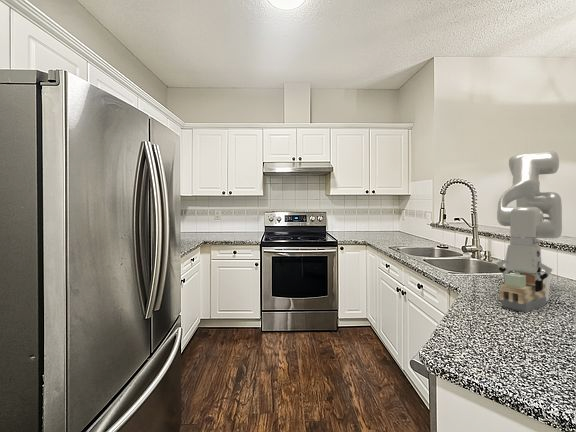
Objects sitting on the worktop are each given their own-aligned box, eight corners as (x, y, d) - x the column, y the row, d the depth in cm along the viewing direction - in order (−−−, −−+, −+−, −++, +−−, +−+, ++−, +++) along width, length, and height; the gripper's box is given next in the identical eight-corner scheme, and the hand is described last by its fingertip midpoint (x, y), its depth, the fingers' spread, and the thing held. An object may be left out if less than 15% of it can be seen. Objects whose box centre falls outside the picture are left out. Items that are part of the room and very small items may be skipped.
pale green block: (510, 284, 118) (510, 273, 118) (525, 286, 114) (525, 275, 114) (504, 285, 116) (504, 274, 116) (520, 288, 112) (520, 276, 112)
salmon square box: (524, 280, 124) (524, 269, 124) (540, 282, 119) (540, 272, 119) (519, 281, 122) (519, 271, 122) (535, 284, 117) (535, 273, 117)
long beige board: (523, 292, 125) (523, 279, 125) (545, 296, 119) (545, 282, 119) (499, 299, 116) (499, 285, 116) (521, 304, 110) (521, 289, 110)
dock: (521, 299, 125) (521, 292, 125) (546, 304, 119) (546, 296, 119) (501, 306, 118) (501, 298, 118) (526, 312, 111) (526, 303, 111)
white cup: (546, 297, 128) (547, 272, 128) (553, 303, 121) (553, 276, 121) (522, 295, 131) (522, 271, 131) (527, 300, 124) (527, 275, 124)
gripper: (556, 242, 112) (556, 291, 112) (502, 239, 127) (502, 282, 127) (546, 244, 108) (546, 295, 109) (492, 240, 123) (492, 285, 123)
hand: (522, 288), depth 118 cm, fingers open, 9 cm apart
